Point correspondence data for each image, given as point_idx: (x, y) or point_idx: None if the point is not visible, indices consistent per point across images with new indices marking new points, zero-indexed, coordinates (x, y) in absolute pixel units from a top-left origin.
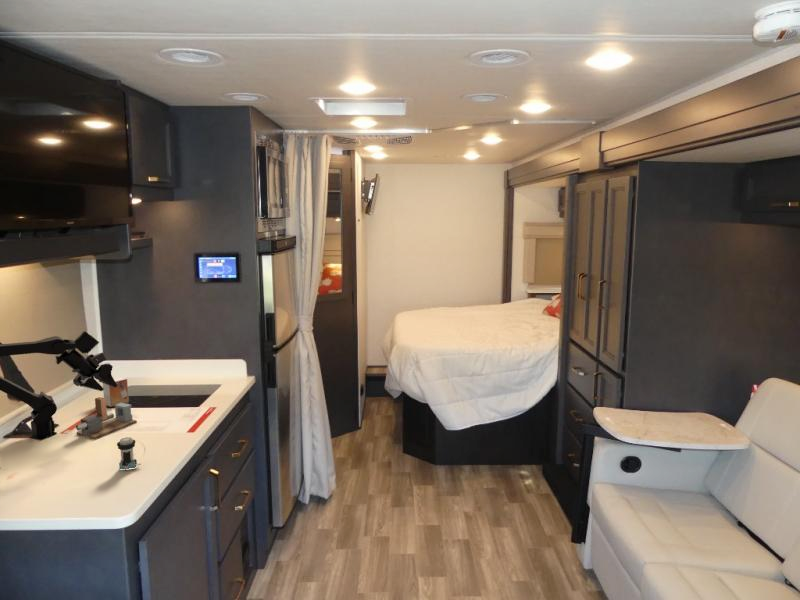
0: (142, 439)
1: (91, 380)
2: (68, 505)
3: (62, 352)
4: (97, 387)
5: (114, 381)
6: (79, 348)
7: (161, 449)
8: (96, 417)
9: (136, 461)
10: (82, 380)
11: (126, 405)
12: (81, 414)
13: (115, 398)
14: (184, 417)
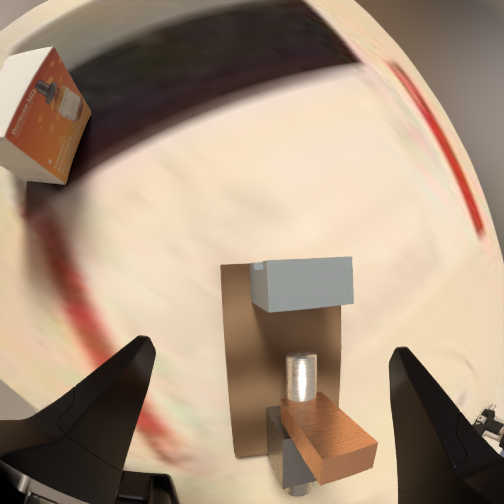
0: (441, 340)
1: (77, 465)
2: None
3: None
4: (133, 399)
5: (437, 389)
6: None
7: (488, 340)
8: None
9: (492, 410)
10: None
11: (339, 280)
12: (37, 305)
13: (59, 149)
14: (410, 147)
